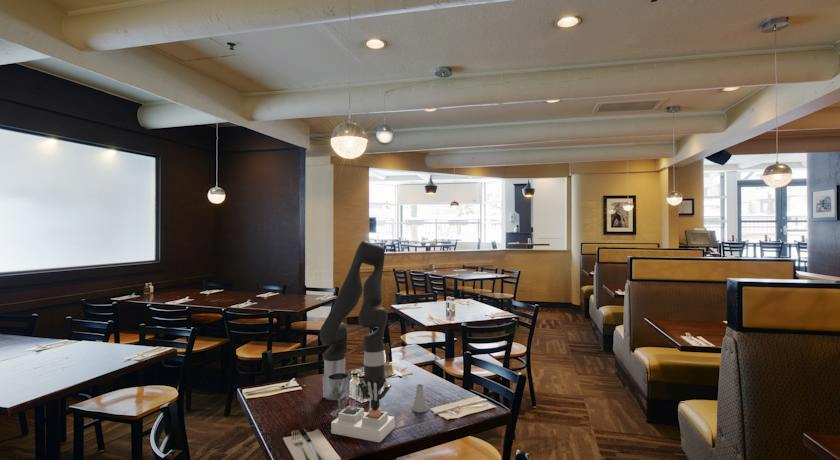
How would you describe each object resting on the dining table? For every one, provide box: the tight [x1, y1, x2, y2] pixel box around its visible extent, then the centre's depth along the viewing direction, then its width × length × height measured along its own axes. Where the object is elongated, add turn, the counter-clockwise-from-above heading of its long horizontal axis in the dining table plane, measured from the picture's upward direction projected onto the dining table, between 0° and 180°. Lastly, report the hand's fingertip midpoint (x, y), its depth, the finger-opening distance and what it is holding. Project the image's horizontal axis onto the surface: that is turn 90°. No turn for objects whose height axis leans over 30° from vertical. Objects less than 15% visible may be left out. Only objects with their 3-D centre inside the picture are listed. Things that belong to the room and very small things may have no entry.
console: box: [330, 405, 396, 443], centre depth 159 cm, size 20×12×6 cm, turn 68°
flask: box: [411, 383, 429, 414], centre depth 176 cm, size 7×7×10 cm
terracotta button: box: [368, 406, 382, 419], centre depth 157 cm, size 4×4×3 cm
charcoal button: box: [344, 405, 358, 415], centre depth 161 cm, size 4×4×3 cm
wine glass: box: [329, 372, 349, 418], centre depth 175 cm, size 8×8×15 cm
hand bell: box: [384, 342, 395, 378], centre depth 220 cm, size 8×8×16 cm
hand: (375, 409), depth 157 cm, fingers closed
